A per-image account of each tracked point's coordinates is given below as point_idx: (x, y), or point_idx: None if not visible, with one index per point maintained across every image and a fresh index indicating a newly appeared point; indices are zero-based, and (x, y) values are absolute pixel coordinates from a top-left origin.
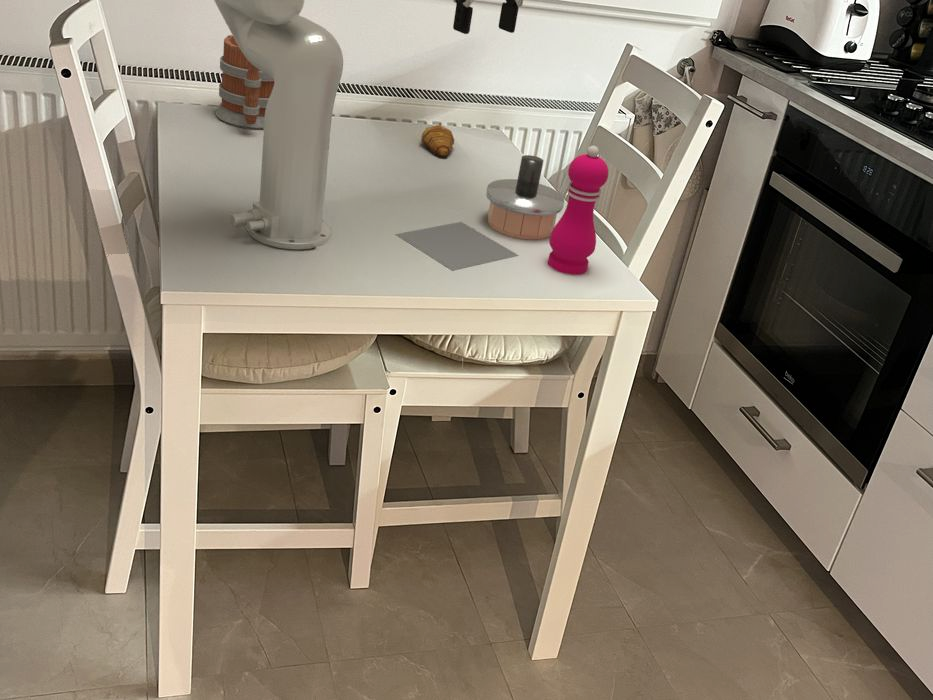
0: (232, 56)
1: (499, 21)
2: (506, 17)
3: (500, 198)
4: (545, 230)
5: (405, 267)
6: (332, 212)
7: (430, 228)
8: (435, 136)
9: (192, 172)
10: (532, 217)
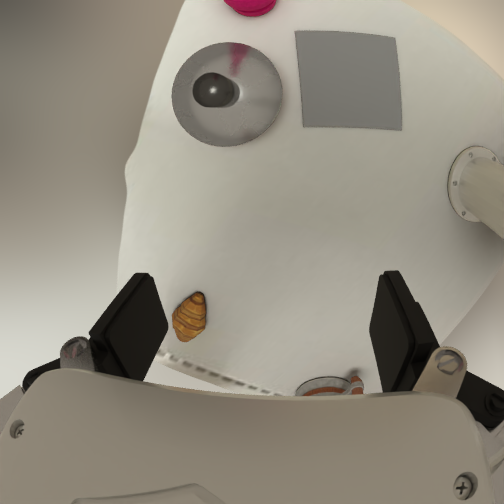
0: None
1: (161, 340)
2: (142, 332)
3: (277, 86)
4: None
5: (430, 71)
6: (418, 208)
7: (354, 125)
8: (195, 319)
9: (449, 316)
10: None
